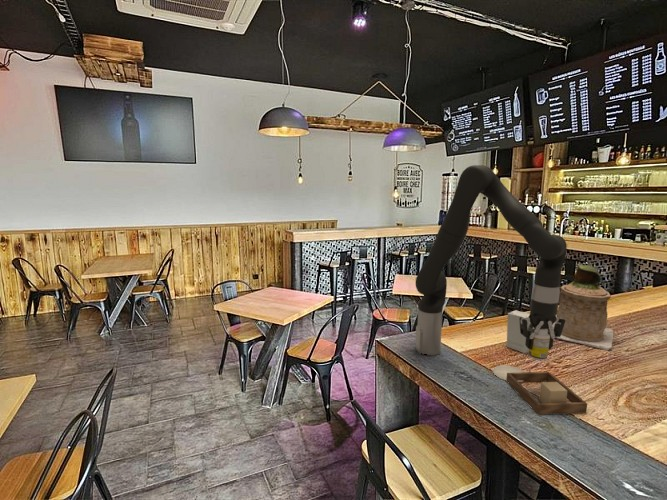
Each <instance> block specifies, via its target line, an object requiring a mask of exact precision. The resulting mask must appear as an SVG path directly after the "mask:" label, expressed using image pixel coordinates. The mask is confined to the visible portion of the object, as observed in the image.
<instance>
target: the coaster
mask: <svg viewBox="0 0 667 500" xmlns="http://www.w3.org/2000/svg"><path fill="white" fill-rule="evenodd" d="M521 372H525V371H524V370H522V369H520V368H518V367H515V366H511V365H502V364H501V365H496V366H495V367H493V368H492V373H494V374H493V375H494V376H495V375H496V376H497V377H496V376H495V377H496V378H498V377H499V378H501V379H504V380H506V381H505V382H507V373H521ZM499 378H498V379H499ZM501 379H500V380H501ZM504 380H503V381H504ZM517 381H518V382H519V383H520V384H521V383H525V382H524V380H517Z"/></svg>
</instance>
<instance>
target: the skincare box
mask: <svg viewBox="0 0 667 500" xmlns="http://www.w3.org/2000/svg"><path fill="white" fill-rule="evenodd" d="M529 315H530V313H528V312H524V311H519V310H513V311H510V312H508V313H507V326H506V327H507V329H506V348H509V349H512V350H515V351H517V352H520V353H523V354H528V351H529V349H528V348H527V347H526V345H525V342H526V337H524V336H523V335H522V334H521V333H520V322H519V318H520V317H523V318H527V317H529ZM529 325H530V321H529V323H528V325H527V327H529ZM533 329H534V327H533Z"/></svg>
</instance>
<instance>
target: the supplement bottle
mask: <svg viewBox="0 0 667 500" xmlns="http://www.w3.org/2000/svg"><path fill="white" fill-rule="evenodd" d="M534 329H535V328H534ZM549 342H550V335H549V334H548V329H539V331H538V333H536V334H535V336H534V337H533V347H532V350H529V351H528V352H527V354H528V356H529V357H530V358H531V359H533V360H535V361H545V360H547V359H548V355H549V350H550V349H549Z"/></svg>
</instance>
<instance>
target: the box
mask: <svg viewBox="0 0 667 500" xmlns="http://www.w3.org/2000/svg"><path fill="white" fill-rule="evenodd" d="M538 398H539V399H538V400H539V402H540V403H567V390H566V389H565V388H564V387H562V386H561V385H560V384H559V383H558V382H548V381H540V389H539V397H538Z"/></svg>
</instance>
